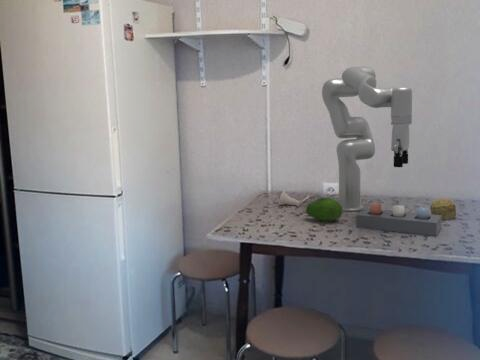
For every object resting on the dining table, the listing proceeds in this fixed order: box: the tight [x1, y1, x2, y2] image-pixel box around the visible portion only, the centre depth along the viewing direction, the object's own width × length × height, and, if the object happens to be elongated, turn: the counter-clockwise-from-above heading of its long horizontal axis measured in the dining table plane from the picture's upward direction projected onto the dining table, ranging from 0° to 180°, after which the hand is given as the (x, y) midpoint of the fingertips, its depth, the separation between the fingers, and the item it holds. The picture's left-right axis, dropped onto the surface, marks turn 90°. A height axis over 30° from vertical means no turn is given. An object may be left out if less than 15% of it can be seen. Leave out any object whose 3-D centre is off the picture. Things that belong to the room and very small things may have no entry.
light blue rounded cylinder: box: [416, 206, 430, 220], centre depth 187 cm, size 4×4×5 cm
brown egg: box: [369, 202, 382, 215], centre depth 196 cm, size 4×4×5 cm
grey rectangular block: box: [355, 207, 443, 237], centre depth 192 cm, size 30×12×5 cm, turn 59°
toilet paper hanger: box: [278, 190, 311, 207], centre depth 241 cm, size 23×10×8 cm, turn 159°
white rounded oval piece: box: [392, 204, 406, 217], centre depth 191 cm, size 4×4×5 cm
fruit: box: [305, 197, 344, 222], centre depth 205 cm, size 15×10×10 cm, turn 65°
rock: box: [429, 197, 457, 221], centre depth 204 cm, size 10×11×10 cm
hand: (400, 165), depth 189 cm, fingers open, 9 cm apart
